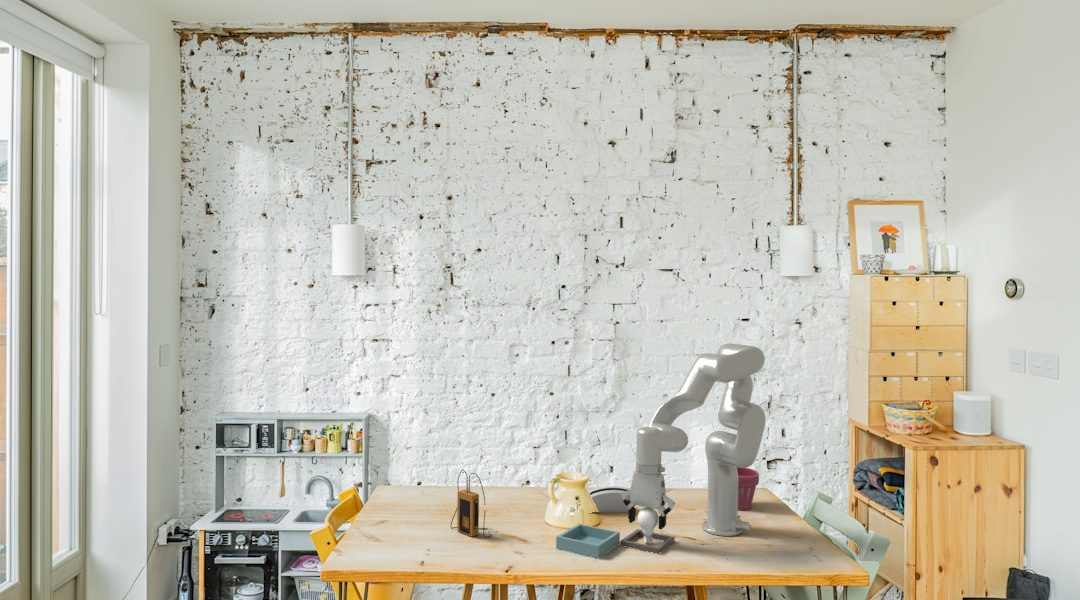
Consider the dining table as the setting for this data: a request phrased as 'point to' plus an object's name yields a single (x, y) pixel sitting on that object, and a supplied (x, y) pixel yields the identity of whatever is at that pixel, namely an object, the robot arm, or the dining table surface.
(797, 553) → the dining table surface
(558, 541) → the parts tray
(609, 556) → the dining table surface
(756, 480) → the plant pot
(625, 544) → the dark brown square frame
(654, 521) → the lightbulb
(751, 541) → the dining table surface
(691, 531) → the dining table surface
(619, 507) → the grey rounded block
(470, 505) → the multimeter
